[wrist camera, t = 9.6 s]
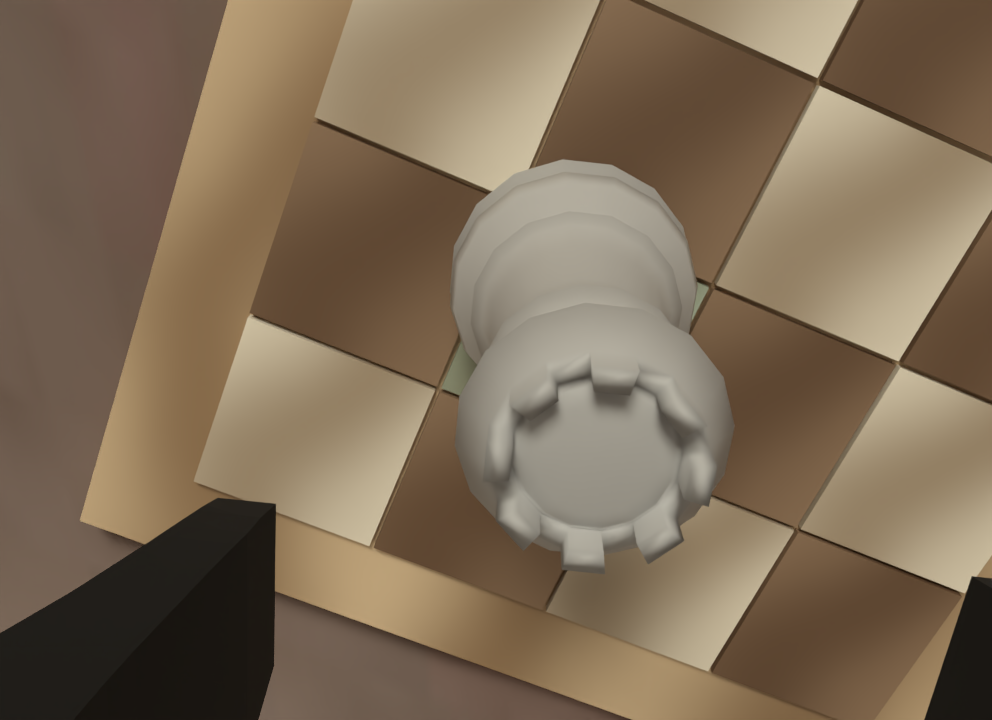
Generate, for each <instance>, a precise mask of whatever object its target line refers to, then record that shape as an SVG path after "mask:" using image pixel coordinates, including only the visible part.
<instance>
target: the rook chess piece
mask: <svg viewBox="0 0 992 720" xmlns="http://www.w3.org/2000/svg"><path fill="white" fill-rule="evenodd" d="M697 289H698V284H697V280H696V275H695V271H694V267H693V262H692V258H691V254H690V249H689V245H688V241H687V239H686V237H685V232H684V228H683V226H682V225H681V223H680V222H679V221H678V219H677V218H676V217H675V215H674V214H673V213H672V211H671V210H670V209H669V207H668V206H667V205H666V203H665V202H664V201H663V199H662V198H661V197H660V195H659V194H658V193H657V191H656V190H655V189H654V188H652V187H651V186H649V185H647V184H645V183H643V182H642V181H640V180H638V179H636V178H635V177H633V176H631V175H629V174H627V173H626V172H624V171H622V170H620V169H619V168H617V167H615V166H613V165H609V164H600V163H591V162H582V161H572V160H563V159H562V160H559V161H555V162H552V163H549V164H545V165H542V166H538V167H535V168H531V169H528V170H525V171H521V172H518V173H515V174H513V175H512V176H511V177H510V178H508V179H507V180H506V181H505V182H503V183H502V184H501V185H500V186H498V187H497V188H496V189H495V190H494V191H492V192H491V193H490V194H489V195H487V196H486V197H485V198H484V199H482V200H481V201H480V202H479V203H477V204H476V206H475V208H474V210H473V212H472V214H471V215H470V217H469V219H468V221H467V223H466V225H465V227H464V228H463V230H462V232H461V234H460V236H459V238H458V240H457V241H456V243H455V245H454V252H453V263H452V274H451V285H450V294H451V299H450V308H451V311H452V314H453V317H454V320H455V323H456V326H457V329H458V332H459V335H460V338H461V341H462V344H463V347H464V350H465V351H466V352H467V354H468V355H469V356H470V357H471V358H472V359H473V361H474V362H475V363H476V364H477V366H476V368H475V370H474V372H473V373H472V375H471V377H470V379H469V380H468V382H467V384H466V386H465V387H464V389H463V391H462V393H461V394H460V396H459V405H458V416H457V426H456V437H455V448H456V451H457V454H458V457H459V460H460V463H461V466H462V468H463V471H464V474H465V477H466V480H467V483H468V486H469V489H470V492H471V493H472V494H473V495H474V496H475V497H476V498H477V499H478V500H479V501H480V503H481V504H482V505H483V506H484V507H485V508H486V509H487V510H488V511H489V512H490V514H491V515H492V516H493V517H494V518H495V519H496V522H497V523H498V524H499V525H500V526H501V527H502V528H503V529H504V531H505V532H506V533H507V534H508V535H509V536H510V537H511V538H512V539H513V540H514V541H515V543H516V544H517V545H518V546H519V547H520V548H521V549H522V550H523V551H524V550H525V549H526V548H527V547H528V546H529V545H530V544H531V543H532V542H533V543H535V544H537V545H539V546H541V547H543V548H546V549H548V550H551V551H560V552H561V568H562V570H568V571H578V572H587V573H596V574H605V565H604V555H607V554H611V553H616V552H620V551H624V550H628V549H633V548H637V547H639V549H640V551H641V553H642V555H643V556H644V558H645V560H646V562H647V564H650V563H651V562H653V561H654V560H656V559H657V558H659V557H660V556H662V555H664V554H665V553H667V552H668V551H670V550H671V549H673V548H674V547H676V546H678V545H679V544H681V543H682V542H684V538H683V535H682V531H681V528H680V525H682V524H683V523H685V522H686V521H688V520H689V519H691V518H692V517H694V516H695V515H696V514H697V512H698V511H699V509H700V508H701V507H702V505H704V506H707V507H709V504H710V499H711V494H712V491H713V490H714V488H715V487H716V486H717V484H718V483H719V482H720V480H721V479H722V477H723V476H724V474H725V469H726V464H727V460H728V455H729V450H730V446H731V441H732V436H733V432H734V427H735V425H734V421H733V416H732V412H731V408H730V403H729V399H728V395H727V390H726V386H725V382H724V377H723V376H722V374H721V373H720V372H719V371H718V369H717V368H716V367H715V365H714V364H713V363H712V362H711V360H710V359H709V358H708V356H707V355H706V354H705V353H704V351H703V350H702V349H701V348H700V346H699V345H698V344H697V342H696V341H695V340H694V339H693V337H692V336H691V335H689V331H690V326H691V321H692V315H693V310H694V305H695V299H696V294H697Z"/></svg>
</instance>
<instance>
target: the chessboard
mask: <svg viewBox="0 0 992 720" xmlns="http://www.w3.org/2000/svg"><path fill="white" fill-rule="evenodd" d="M562 159H563V160H572V161H582V162H591V163H600V164H609V165H613V166H615V167H617V168H619V169H620V170H622V171H624V172H626V173H627V174H629V175H631V176H633V177H635V178H636V179H638V180H640V181H642V182H643V183H645V184H647V185H649V186H651V187H652V188H654V189H655V190H656V191H657V193H658V194H659V195H660V197H661V198H662V199H663V201H664V202H665V203H666V205H667V206H668V207H669V209H670V210H671V211H672V213H673V214H674V215H675V217H676V218H677V219H678V221H679V222H680V223H681V225H682V226H683V228H684V232H685V237H686V239H687V241H688V245H689V249H690V254H691V258H692V262H693V267H694V271H695V275H696V280H697V284H698V289H697V294H696V299H695V305H694V310H693V315H692V321H691V326H690V331H689V335H691V336H692V337H693V339H694V340H695V341H696V342H697V344H698V345H699V346H700V348H701V349H702V350H703V351H704V353H705V354H706V355H707V356H708V358H709V359H710V360H711V362H712V363H713V364H714V365H715V367H716V368H717V369H718V371H719V372H720V373H721V374H722V376H723V377H724V382H725V386H726V390H727V395H728V399H729V403H730V408H731V412H732V416H733V421H734V425H735V427H734V432H733V436H732V441H731V446H730V450H729V455H728V460H727V464H726V469H725V474H724V476H723V477H722V479H721V480H720V482H719V483H718V484H717V486H716V487H715V488H714V490H713V491H712V494H711V499H710V504H709V507H707V506H704V505H702V507H701V508H700V509H699V511H698V512H697V514H696V515H695V516H694V517H692V518H691V519H689V520H688V521H686V522H685V523H683V524H682V525H680V528H681V531H682V535H683V538H684V542H682V543H681V544H679V545H678V546H676V547H674V548H673V549H671V550H670V551H668V552H667V553H665V554H664V555H662V556H660V557H659V558H657V559H656V560H654V561H653V562H651V563H650V564H647V562H646V560H645V558H644V556H643V555H642V553H641V551H640V549H639V547H637V548H633V549H628V550H624V551H620V552H616V553H611V554H607V555H604V565H605V574H596V573H587V572H578V571H568V570H562V568H561V552H560V551H551V550H548V549H546V548H543V547H541V546H539V545H537V544H535V543H533V542H532V543H531V544H530V545H529V546H528V547H527V548H526V549H525V550H524V551H523V550H522V549H521V548H520V547H519V546H518V545H517V544H516V543H515V541H514V540H513V539H512V538H511V537H510V536H509V535H508V534H507V533H506V532H505V531H504V529H503V528H502V527H501V526H500V525H499V524H498V523H497V522H496V519H495V518H494V517H493V516H492V515H491V514H490V512H489V511H488V510H487V509H486V508H485V507H484V506H483V505H482V504H481V503H480V501H479V500H478V499H477V498H476V497H475V496H474V495H473V494H472V493H471V492H470V489H469V486H468V483H467V480H466V477H465V474H464V471H463V468H462V466H461V463H460V460H459V457H458V454H457V451H456V448H455V437H456V426H457V416H458V405H459V396H460V394H461V393H462V391H463V389H464V387H465V386H466V384H467V382H468V380H469V379H470V377H471V375H472V373H473V372H474V370H475V368H476V366H477V364H476V363H475V362H474V361H473V359H472V358H471V357H470V356H469V355H468V354H467V352H466V351H465V350H464V347H463V344H462V341H461V338H460V335H459V332H458V329H457V326H456V323H455V320H454V317H453V314H452V311H451V308H450V299H451V294H450V285H451V274H452V263H453V252H454V245H455V243H456V241H457V240H458V238H459V236H460V234H461V232H462V230H463V228H464V227H465V225H466V223H467V221H468V219H469V217H470V215H471V214H472V212H473V210H474V208H475V206H476V204H477V203H479V202H480V201H481V200H482V199H484V198H485V197H486V196H487V195H489V194H490V193H491V192H492V191H494V190H495V189H496V188H497V187H498V186H500V185H501V184H502V183H503V182H505V181H506V180H507V179H508V178H510V177H511V176H512V175H513V174H515V173H518V172H521V171H525V170H528V169H531V168H535V167H538V166H542V165H545V164H549V163H552V162H555V161H559V160H562ZM216 498H226V499H235V500H245V501H255V502H264V503H274V504H276V547H275V591H276V592H279V593H282V594H284V595H287V596H290V597H293V598H295V599H298V600H301V601H304V602H307V603H309V604H312V605H315V606H318V607H320V608H323V609H326V610H329V611H332V612H334V613H337V614H340V615H343V616H345V617H348V618H351V619H354V620H357V621H359V622H362V623H365V624H368V625H370V626H373V627H376V628H379V629H382V630H384V631H387V632H390V633H393V634H395V635H398V636H401V637H404V638H407V639H409V640H412V641H415V642H418V643H420V644H423V645H426V646H429V647H432V648H434V649H437V650H440V651H443V652H445V653H448V654H451V655H454V656H457V657H459V658H462V659H465V660H468V661H470V662H473V663H476V664H479V665H482V666H484V667H487V668H490V669H493V670H495V671H498V672H501V673H504V674H507V675H509V676H512V677H515V678H518V679H520V680H523V681H526V682H529V683H531V684H534V685H537V686H540V687H543V688H545V689H548V690H551V691H554V692H556V693H559V694H562V695H565V696H568V697H570V698H573V699H576V700H579V701H581V702H584V703H587V704H590V705H593V706H595V707H598V708H601V709H604V710H606V711H609V712H612V713H615V714H618V715H620V716H623V717H626V718H629V719H631V720H924V719H925V716H926V713H927V710H928V707H929V704H930V701H931V698H932V695H933V692H934V689H935V686H936V683H937V680H938V677H939V674H940V671H941V668H942V664H943V661H944V658H945V655H946V652H947V649H948V646H949V643H950V640H951V637H952V634H953V631H954V628H955V625H956V622H957V619H958V616H959V613H960V610H961V607H962V604H963V601H964V598H965V595H966V592H967V589H968V586H969V583H970V580H971V577H972V576H974V577H984V578H992V0H228V3H227V7H226V10H225V14H224V17H223V21H222V24H221V28H220V31H219V35H218V38H217V42H216V45H215V49H214V52H213V56H212V59H211V63H210V66H209V70H208V73H207V77H206V80H205V84H204V87H203V91H202V94H201V98H200V101H199V105H198V108H197V112H196V115H195V119H194V122H193V126H192V129H191V133H190V136H189V140H188V143H187V147H186V150H185V154H184V157H183V161H182V164H181V168H180V171H179V175H178V178H177V182H176V185H175V189H174V192H173V196H172V199H171V203H170V206H169V210H168V213H167V217H166V220H165V224H164V227H163V231H162V234H161V238H160V241H159V245H158V248H157V252H156V255H155V259H154V262H153V266H152V269H151V273H150V276H149V280H148V283H147V287H146V290H145V294H144V297H143V301H142V305H141V308H140V312H139V315H138V319H137V322H136V326H135V329H134V333H133V336H132V340H131V343H130V347H129V350H128V354H127V357H126V361H125V364H124V368H123V371H122V375H121V378H120V382H119V385H118V389H117V392H116V396H115V399H114V403H113V406H112V410H111V413H110V417H109V420H108V424H107V427H106V431H105V434H104V438H103V441H102V445H101V448H100V452H99V455H98V459H97V462H96V466H95V469H94V473H93V476H92V480H91V483H90V487H89V490H88V494H87V497H86V501H85V504H84V508H83V511H82V515H81V518H80V521H82V522H84V523H87V524H90V525H93V526H96V527H98V528H101V529H104V530H107V531H109V532H112V533H115V534H118V535H121V536H123V537H126V538H129V539H132V540H134V541H137V542H140V543H143V544H146V543H148V542H149V541H151V540H152V539H154V538H155V537H157V536H158V535H160V534H161V533H163V532H164V531H166V530H167V529H169V528H170V527H172V526H173V525H175V524H176V523H178V522H179V521H181V520H182V519H184V518H185V517H187V516H189V515H190V514H192V513H193V512H195V511H196V510H198V509H199V508H201V507H203V506H204V505H206V504H208V503H209V502H211V501H213V500H214V499H216Z"/></svg>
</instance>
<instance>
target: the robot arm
mask: <svg viewBox="0 0 992 720" xmlns="http://www.w3.org/2000/svg"><path fill="white" fill-rule="evenodd" d="M275 547H276V504H274V503H264V502H255V501H245V500H235V499H226V498H216V499H214V500H213V501H211V502H209V503H208V504H206V505H204V506H203V507H201V508H199V509H198V510H196V511H195V512H193V513H192V514H190V515H189V516H187V517H185V518H184V519H182V520H181V521H179V522H178V523H176V524H175V525H173V526H172V527H170V528H169V529H167V530H166V531H164V532H163V533H161V534H160V535H158V536H157V537H155V538H154V539H152V540H151V541H149V542H148V543H146V544H145V545H143V546H142V547H140V548H139V549H137V550H136V551H134V552H133V553H131V554H130V555H128V556H126V557H125V558H123V559H122V560H120V561H119V562H117V563H116V564H114V565H112V566H111V567H109V568H108V569H106V570H105V571H103V572H102V573H100V574H99V575H97V576H95V577H94V578H92V579H91V580H89V581H88V582H86V583H85V584H83V585H81V586H80V587H78V588H77V589H75V590H73V591H72V592H70V593H69V594H67V595H65V596H64V597H62V598H60V599H58V600H57V601H55V602H53V603H51V604H50V605H48V606H46V607H45V608H43V609H41V610H39V611H38V612H36V613H34V614H33V615H31V616H29V617H27V618H26V619H24V620H22V621H21V622H19V623H17V624H15V625H14V626H12V627H10V628H8V629H7V630H5V631H3V632H2V633H0V720H258V719H259V715H260V712H261V708H262V705H263V702H264V698H265V695H266V691H267V688H268V684H269V681H270V677H271V674H272V670H273V667H274V619H275ZM924 720H992V578H984V577H974V576H972V577H971V580H970V583H969V586H968V589H967V592H966V595H965V598H964V601H963V604H962V607H961V610H960V613H959V616H958V619H957V622H956V625H955V628H954V631H953V634H952V637H951V640H950V643H949V646H948V649H947V652H946V655H945V658H944V661H943V664H942V668H941V671H940V674H939V677H938V680H937V683H936V686H935V689H934V692H933V695H932V698H931V701H930V704H929V707H928V710H927V713H926V716H925V719H924Z"/></svg>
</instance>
